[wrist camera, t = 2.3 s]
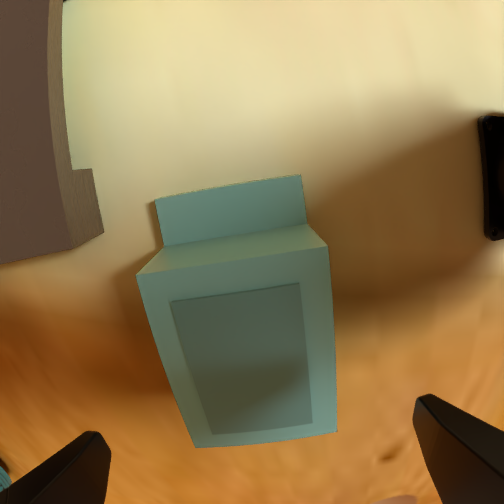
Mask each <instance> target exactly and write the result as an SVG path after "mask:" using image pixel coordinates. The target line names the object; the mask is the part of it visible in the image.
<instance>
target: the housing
mask: <svg viewBox="0 0 504 504" xmlns="http://www.w3.org/2000/svg"><path fill="white" fill-rule="evenodd" d="M155 204H156V210H157V215H158V219H159V224H160V229H161V234H162V238H163V243H164V247H163V248H162V249H161V250H160V251H159V252H158V253H157V254H156V255H155V256H154V257H153V258H152V259H151V260H150V261H149V262H148V263H147V264H146V265H145V266H144V267H143V268H142V269H141V270H140V271H139V272H138V273H137V274H136V275H135V276H136V279H137V283H138V287H139V290H140V294H141V297H142V301H143V304H144V308H145V311H146V314H147V318H148V321H149V324H150V328H151V331H152V334H153V337H154V340H155V343H156V346H157V349H158V352H159V355H160V358H161V361H162V364H163V367H164V370H165V372H166V375H167V378H168V381H169V383H170V386H171V389H172V392H173V394H174V397H175V399H176V402H177V405H178V407H179V410H180V412H181V415H182V417H183V420H184V422H185V424H186V427H187V429H188V432H189V434H190V436H191V439H192V441H193V443H194V446H195V448H207V447H227V446H240V445H252V444H261V443H270V442H278V441H285V440H292V439H299V438H305V437H311V436H317V435H322V434H327V433H332V432H337V388H336V354H335V333H334V315H333V300H332V286H331V274H330V262H329V251H328V245H327V244H326V243H325V242H324V241H323V240H322V239H321V238H320V237H319V236H318V235H317V233H316V232H315V231H314V230H313V229H312V228H311V227H310V226H309V225H308V224H307V217H306V209H305V201H304V194H303V187H302V180H301V175H299V174H297V175H290V176H283V177H276V178H269V179H262V180H256V181H249V182H243V183H237V184H231V185H225V186H219V187H213V188H208V189H202V190H197V191H191V192H186V193H181V194H176V195H171V196H166V197H161V198H158V199H155Z"/></svg>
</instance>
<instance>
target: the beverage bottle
mask: <svg viewBox="0 0 504 504" xmlns="http://www.w3.org/2000/svg"><path fill="white" fill-rule="evenodd" d="M11 483H12V481H11V479H10V477H9V476H8V474H7V473H6V472H5V471H4V470H3V468H2V467H1V466H0V492H1V491H2V490H4V489H5V488H7V487H9V486H10V485H11Z"/></svg>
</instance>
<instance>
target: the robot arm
mask: <svg viewBox="0 0 504 504" xmlns="http://www.w3.org/2000/svg"><path fill="white" fill-rule="evenodd" d="M486 123H487V125H488V128H486ZM478 130H479V138H480V146H481V156H482V167H483V183H484V232H485V236H486V238H488V239H490V240H492V241H496V240H501V239H504V117H498V116H481V117H480V118H479V119H478ZM493 228H494V231H493V233H492V229H493ZM413 425H414V429H415V432H416V435H417V438H418V441H419V444H420V447H421V450H422V454H423V457H424V460H425V463H426V466H427V469H428V471H429V473H430V476H431V478H432V480H433V482H434V485H435V487H436V489H437V491H438V494H439V496H440V498H441V501H442V503H443V504H504V431H502V430H500V429H498V428H496V427H494V426H492V425H490V424H488V423H486V422H484V421H482V420H480V419H478V418H476V417H474V416H473V415H471V414H469V413H467V412H465V411H463V410H461V409H459V408H457V407H455V406H454V405H452V404H450V403H448V402H446V401H444V400H442V399H441V398H439V397H437V396H435V395H433V394H426V395H423V396H420V397H418V398H417V399H416V403H415V408H414V413H413ZM110 462H111V450H110V448H109V446H108V445H107V443H106V442H105V440H104V438H103V437H102V435H101V434H100V433H99V432H97V431H86V432H84V433H83V434H81V435H80V436H79V437H77V438H76V439H75V440H73V441H72V442H71V443H69V444H68V445H66V446H65V447H64V448H62V449H61V450H60V451H58V452H57V453H55V454H54V455H53V456H51V457H50V458H48V459H47V460H46V461H44V462H43V463H41V464H40V465H39V466H37V467H36V468H34V469H33V470H32V471H30V472H29V473H27V474H26V475H24V476H23V477H22V478H20V479H19V480H17V481H16V482H14V483H13V484H11V485H10V486H9V487H7V488H5V489H4V490H2V491H1V492H0V504H104V502H105V497H106V491H107V484H108V476H109V469H110Z"/></svg>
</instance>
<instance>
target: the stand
mask: <svg viewBox="0 0 504 504" xmlns="http://www.w3.org/2000/svg"><path fill="white" fill-rule="evenodd" d="M63 1H64V0H0V264H4V263H8V262H13V261H17V260H22V259H26V258H31V257H35V256H40V255H45V254H49V253H54V252H59V251H63V250H68V249H73V248H75V247H77V246H79V245H80V244H82V243H84V242H86V241H88V240H90V239H92V238H94V237H96V236H98V235H100V234H101V233H103V232H104V229H103V224H102V220H101V215H100V210H99V205H98V200H97V195H96V190H95V185H94V179H93V173H92V169H81V170H72V165H71V159H70V152H69V144H68V136H67V128H66V118H65V108H64V95H63V78H62V8H63Z"/></svg>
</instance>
